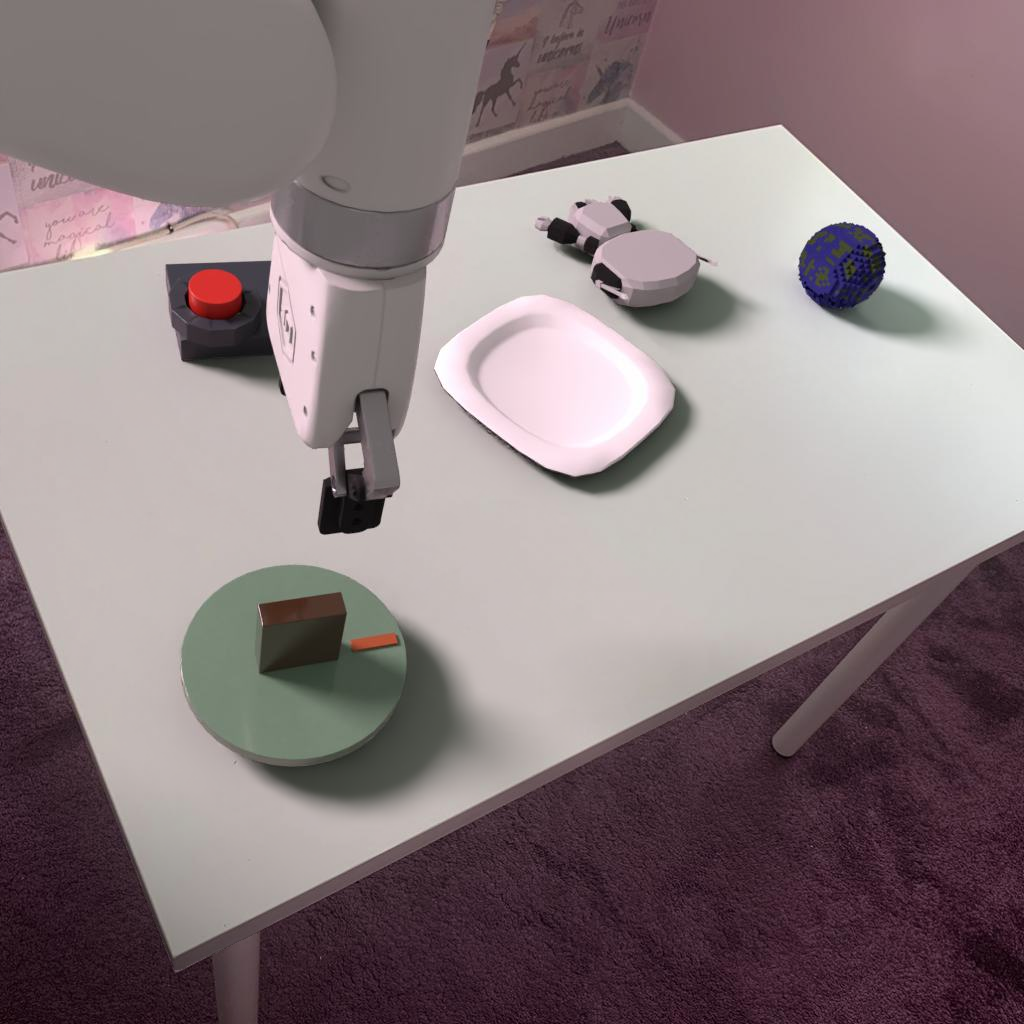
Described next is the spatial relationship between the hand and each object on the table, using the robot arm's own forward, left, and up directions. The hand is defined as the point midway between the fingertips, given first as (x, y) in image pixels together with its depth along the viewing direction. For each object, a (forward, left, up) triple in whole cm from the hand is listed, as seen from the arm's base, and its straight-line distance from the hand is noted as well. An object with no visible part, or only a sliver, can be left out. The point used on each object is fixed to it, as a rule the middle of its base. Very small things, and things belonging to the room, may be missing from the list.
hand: (326, 455), depth 57 cm
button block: (+2, +30, -18) cm, 36 cm away
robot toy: (+38, +34, -18) cm, 54 cm away
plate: (+26, +19, -18) cm, 37 cm away
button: (-1, +28, -15) cm, 32 cm away
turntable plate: (-1, -4, -16) cm, 17 cm away
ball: (+60, +30, -18) cm, 69 cm away
